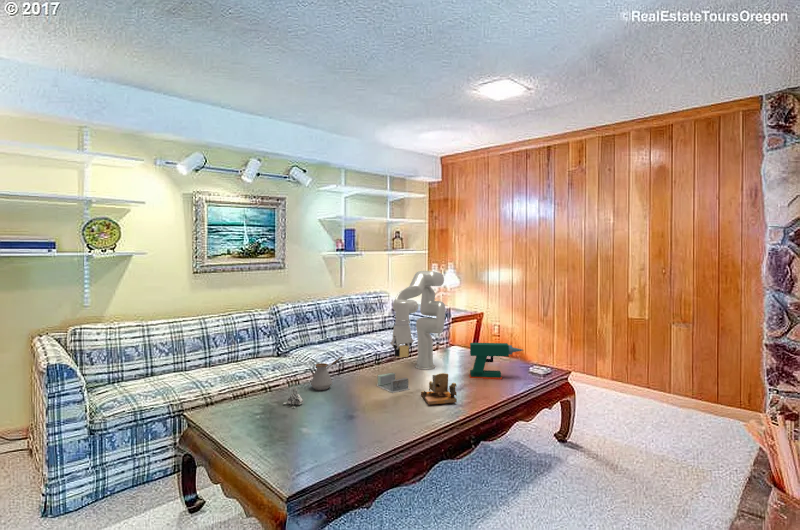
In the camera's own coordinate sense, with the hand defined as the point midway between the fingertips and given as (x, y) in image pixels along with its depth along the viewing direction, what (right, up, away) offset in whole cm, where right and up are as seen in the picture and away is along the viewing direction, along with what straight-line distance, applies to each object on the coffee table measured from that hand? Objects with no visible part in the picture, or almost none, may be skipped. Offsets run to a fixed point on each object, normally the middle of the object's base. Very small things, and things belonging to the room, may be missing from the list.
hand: (402, 355), depth 252 cm
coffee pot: (-40, -17, -3) cm, 44 cm away
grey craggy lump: (-54, -17, -32) cm, 65 cm away
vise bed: (-5, -16, -6) cm, 18 cm away
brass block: (0, -1, 0) cm, 1 cm away
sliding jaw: (-9, -15, -1) cm, 18 cm away
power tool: (+56, -16, +13) cm, 60 cm away
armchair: (+18, -17, -25) cm, 35 cm away
